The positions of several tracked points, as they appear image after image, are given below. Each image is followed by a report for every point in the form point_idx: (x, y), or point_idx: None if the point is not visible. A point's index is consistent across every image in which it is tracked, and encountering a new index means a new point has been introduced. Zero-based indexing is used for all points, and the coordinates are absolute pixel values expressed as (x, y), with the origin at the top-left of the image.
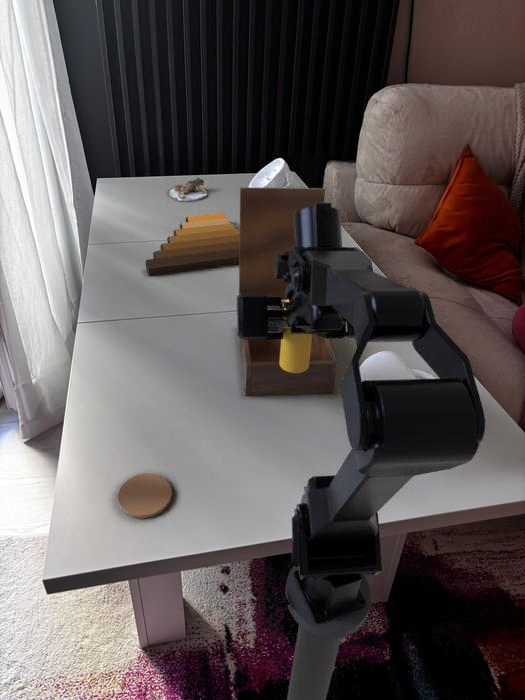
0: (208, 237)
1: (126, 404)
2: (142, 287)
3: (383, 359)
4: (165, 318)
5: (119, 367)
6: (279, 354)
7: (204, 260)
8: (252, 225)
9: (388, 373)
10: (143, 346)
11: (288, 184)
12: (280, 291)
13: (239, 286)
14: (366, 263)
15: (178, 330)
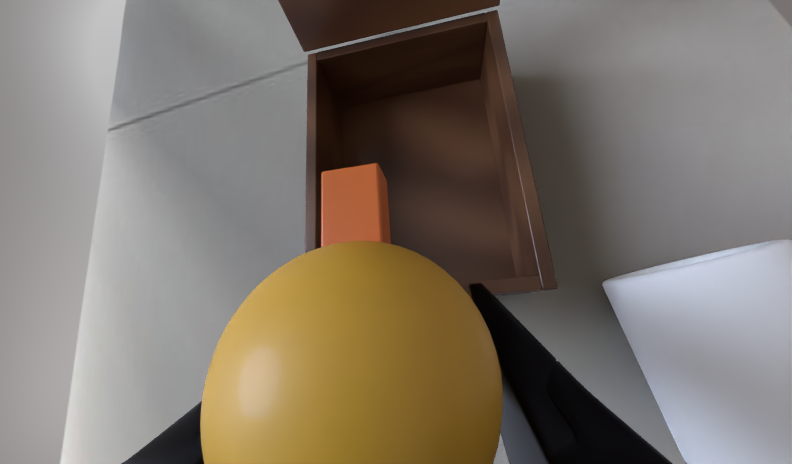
0: None
1: (148, 335)
2: (192, 24)
3: (755, 305)
4: (220, 97)
5: (146, 237)
6: (411, 178)
7: None
8: None
9: (779, 388)
10: (183, 177)
11: None
12: (396, 3)
13: (285, 14)
14: None
15: (238, 126)
